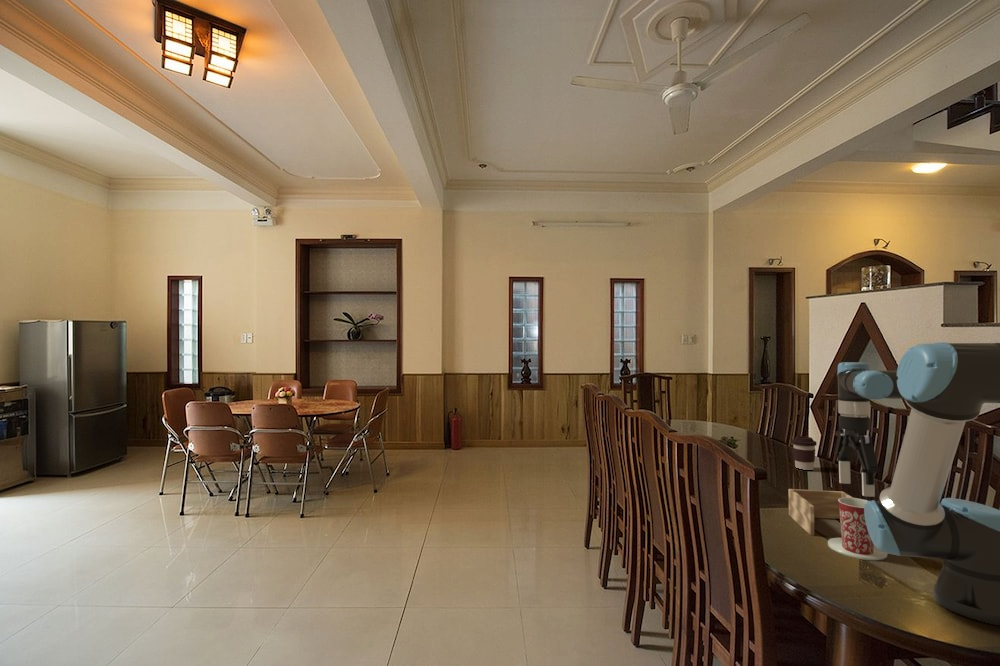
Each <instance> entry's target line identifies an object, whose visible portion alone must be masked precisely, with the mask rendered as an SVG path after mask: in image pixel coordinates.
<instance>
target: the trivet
mask: <svg viewBox="0 0 1000 666" xmlns="http://www.w3.org/2000/svg"><path fill="white" fill-rule="evenodd" d="M827 546H828V548H829V549H830V550H832V551H833V552H836V553H838V554H840V555H842V556H845V557H849V558H853V559H858V560H863V561H876V562H877V561H883V560H886V559H887V558H888V554H887V553H883V552H881V551H880V550H878V549H877V548H876V547H875V545H874V549H873V553H872V554H870V555H862V554H856V553H853V552H850V551H847V550H845V549H844V548H843V547H842V537H833V538H829V539H828V540H827Z"/></svg>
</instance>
